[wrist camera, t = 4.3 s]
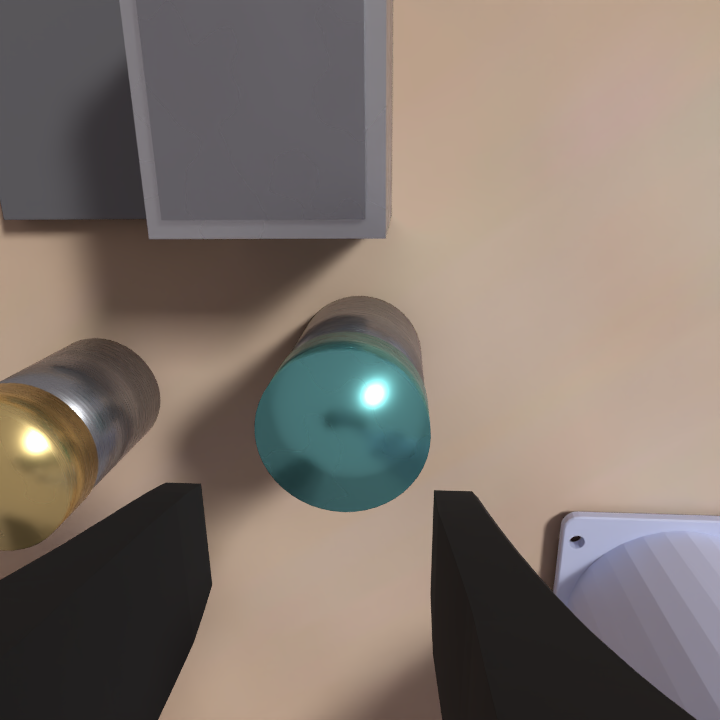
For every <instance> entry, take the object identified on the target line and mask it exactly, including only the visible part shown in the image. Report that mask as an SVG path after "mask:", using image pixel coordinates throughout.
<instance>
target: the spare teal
mask: <svg viewBox="0 0 720 720" xmlns="http://www.w3.org/2000/svg"><path fill="white" fill-rule="evenodd" d="M255 439H256V445H257V448H258V452H259V455H260V457H261V459H262V462H263V464H264V465H265V467H266V469H267V470H268V472H269V473H270V475H271V476H272V477H273V478H274V480H275V481H276V482H277V483H278V484H279V485H280V486H281V487H282V488H283V489H285V490H286V491H287V492H288V493H290V494H291V495H292V496H294V497H296V498H297V499H299V500H301V501H303V502H305V503H307V504H309V505H312V506H315V507H318V508H321V509H325V510H330V511H339V512H356V511H363V510H368V509H371V508H375V507H378V506H380V505H383V504H385V503H387V502H389V501H391V500H393V499H395V498H396V497H397V496H399V495H400V494H402V493H403V492H404V491H405V490H406V489H407V488H408V487H409V486H410V485H411V484H412V483H413V482H414V481H415V479H416V478H417V477H418V475H419V474H420V472H421V470H422V469H423V467H424V464H425V462H426V459H427V456H428V452H429V448H430V439H431V433H430V420H429V410H428V400H427V394H426V390H425V387H424V377H423V366H422V356H421V347H420V341H419V338H418V335H417V333H416V331H415V329H414V327H413V325H412V324H411V322H410V321H409V319H408V318H407V317H406V316H405V315H404V314H403V313H402V312H401V311H400V310H399V309H397V308H396V307H394V306H393V305H391V304H389V303H387V302H385V301H383V300H380V299H377V298H373V297H367V296H351V297H346V298H342V299H339V300H336V301H334V302H332V303H330V304H328V305H327V306H325V307H324V308H322V309H321V310H320V311H319V312H318V313H317V314H316V315H315V316H314V317H313V318H312V319H311V321H310V322H309V324H308V325H307V327H306V329H305V330H304V332H303V334H302V335H301V337H300V338H299V340H298V342H297V343H296V345H295V347H294V348H293V350H292V351H291V353H290V354H289V355H288V357H287V358H286V359H285V360H284V361H283V363H282V364H281V366H280V367H279V369H278V370H277V372H276V374H275V375H274V377H273V378H272V380H271V382H270V383H269V385H268V386H267V388H266V390H265V391H264V393H263V395H262V397H261V399H260V402H259V404H258V408H257V411H256V417H255Z"/></svg>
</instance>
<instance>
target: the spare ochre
mask: <svg viewBox="0 0 720 720" xmlns="http://www.w3.org/2000/svg"><path fill="white" fill-rule="evenodd" d="M159 409H160V392H159V387H158V384H157V381H156V379H155V377H154V375H153V373H152V371H151V370H150V368H149V367H148V365H147V364H146V363H145V362H144V361H143V360H142V359H141V358H140V357H139V356H138V355H137V354H136V353H135V352H133V351H132V350H130V349H129V348H127V347H126V346H124V345H121V344H119V343H117V342H114V341H111V340H106V339H98V338H92V339H84V340H80V341H77V342H74V343H72V344H70V345H69V346H67V347H65V348H63V349H61V350H59V351H57V352H55V353H53V354H52V355H50V356H48V357H46V358H44V359H42V360H40V361H38V362H36V363H35V364H33V365H31V366H29V367H27V368H25V369H23V370H21V371H19V372H18V373H16V374H14V375H12V376H10V377H8V378H6V379H4V380H2V381H1V382H0V550H3V551H7V550H19V549H24V548H28V547H31V546H34V545H36V544H38V543H40V542H42V541H43V540H45V539H46V538H47V537H48V536H50V535H51V534H52V533H53V532H54V531H55V530H56V529H57V528H58V527H59V526H60V525H61V524H62V523H63V521H64V520H65V519H66V518H67V517H68V516H69V515H70V514H71V513H72V512H73V511H74V510H75V509H76V508H77V507H78V506H79V505H80V504H81V503H82V502H83V501H84V500H85V499H86V497H87V496H88V495H89V494H90V492H91V490H92V489H93V488H94V487H95V486H96V485H97V484H98V483H99V482H100V481H101V480H102V478H103V477H104V476H105V475H106V474H107V473H108V472H109V471H110V470H111V469H112V468H113V467H114V466H115V465H116V464H117V463H118V462H119V461H120V460H121V459H122V458H123V457H124V456H125V455H126V454H127V453H128V452H129V451H130V450H131V449H132V448H133V447H134V445H135V444H136V443H137V442H138V441H139V440H140V439H141V438H142V437H143V436H144V435H145V434H146V433H147V432H148V431H149V430H150V429H151V427H152V426H153V425H154V423H155V421H156V419H157V416H158V413H159Z"/></svg>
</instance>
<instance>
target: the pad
mask: <svg viewBox="0 0 720 720" xmlns="http://www.w3.org/2000/svg"><path fill="white" fill-rule="evenodd" d="M0 202H1V207H2V212H3V217H4V220H36V219H146V211H145V203H144V195H143V187H142V179H141V171H140V163H139V155H138V147H137V139H136V130H135V122H134V114H133V106H132V98H131V90H130V82H129V74H128V66H127V58H126V50H125V42H124V34H123V26H122V18H121V10H120V2H119V0H0Z"/></svg>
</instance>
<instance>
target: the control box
mask: <svg viewBox="0 0 720 720" xmlns="http://www.w3.org/2000/svg"><path fill="white" fill-rule="evenodd" d="M119 2H120V10H121V18H122V26H123V34H124V42H125V50H126V58H127V66H128V74H129V82H130V90H131V98H132V106H133V114H134V122H135V130H136V139H137V147H138V155H139V163H140V171H141V179H142V187H143V195H144V203H145V211H146V219H147V227H148V235H149V239H362V238H386V235H387V231H388V227H389V223H390V220H391V216H392V62H393V0H119Z"/></svg>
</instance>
